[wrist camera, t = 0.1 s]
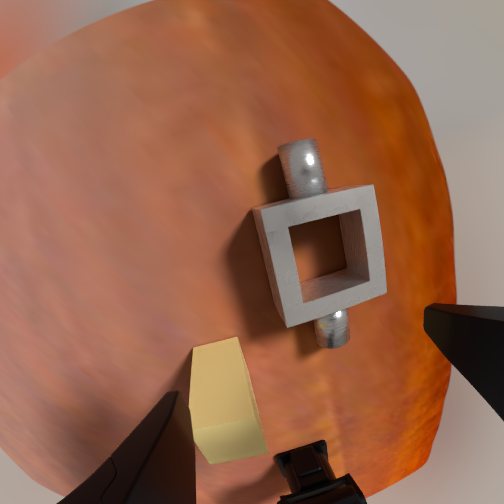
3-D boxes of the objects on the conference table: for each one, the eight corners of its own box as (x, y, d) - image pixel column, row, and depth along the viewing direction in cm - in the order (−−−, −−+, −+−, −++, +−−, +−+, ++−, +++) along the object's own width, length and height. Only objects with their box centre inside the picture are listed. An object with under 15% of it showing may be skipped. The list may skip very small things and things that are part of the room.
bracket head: (366, 316, 25) (388, 333, 21) (283, 345, 24) (296, 369, 20) (337, 140, 21) (361, 130, 17) (239, 157, 20) (245, 148, 16)
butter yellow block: (248, 371, 24) (268, 452, 14) (207, 381, 24) (210, 464, 14) (237, 336, 23) (254, 416, 13) (193, 347, 23) (187, 430, 13)
